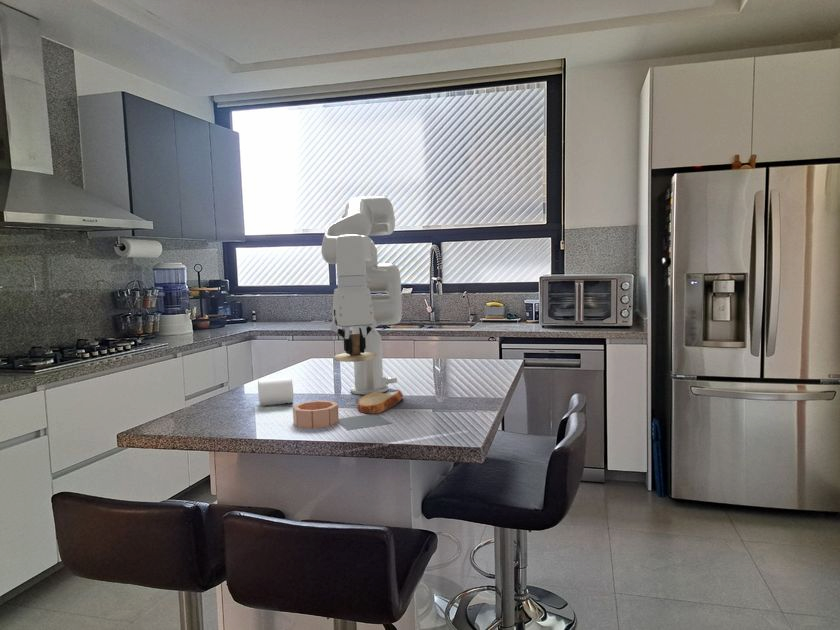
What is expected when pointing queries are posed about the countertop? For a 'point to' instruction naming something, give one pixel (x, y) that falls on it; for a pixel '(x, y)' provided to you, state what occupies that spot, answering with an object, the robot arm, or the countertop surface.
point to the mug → (275, 391)
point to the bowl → (315, 414)
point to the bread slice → (378, 402)
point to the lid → (355, 352)
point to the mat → (363, 421)
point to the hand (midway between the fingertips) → (355, 352)
